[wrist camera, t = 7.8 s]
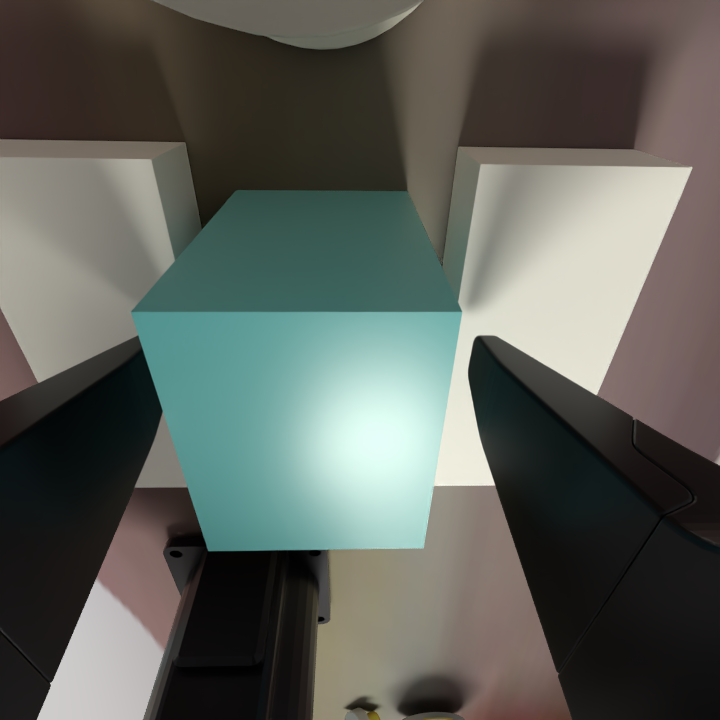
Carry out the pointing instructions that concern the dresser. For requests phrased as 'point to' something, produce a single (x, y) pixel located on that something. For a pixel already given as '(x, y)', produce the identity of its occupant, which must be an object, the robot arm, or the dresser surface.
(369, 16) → the bobbin
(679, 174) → the notched board
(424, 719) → the reed diffuser
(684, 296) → the dresser surface
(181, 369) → the teal rectangular block
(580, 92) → the dresser surface
